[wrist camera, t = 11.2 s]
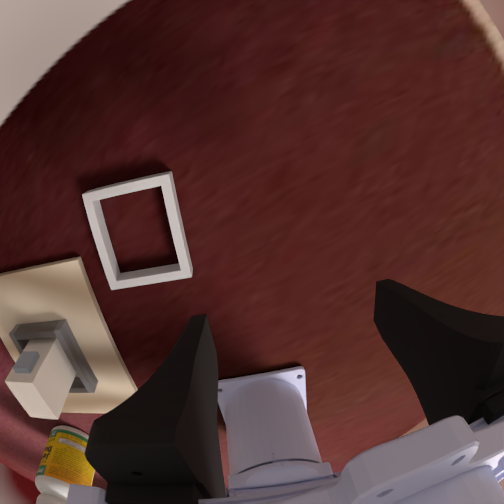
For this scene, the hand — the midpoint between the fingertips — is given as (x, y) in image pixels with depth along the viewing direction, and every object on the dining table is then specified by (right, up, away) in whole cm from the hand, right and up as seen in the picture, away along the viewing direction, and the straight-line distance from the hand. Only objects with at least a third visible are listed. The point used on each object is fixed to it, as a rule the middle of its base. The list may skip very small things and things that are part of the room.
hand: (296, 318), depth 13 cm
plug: (-19, -6, +10) cm, 22 cm away
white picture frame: (-9, +4, +7) cm, 13 cm away
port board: (-19, -6, +11) cm, 22 cm away
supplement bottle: (-23, -19, +16) cm, 34 cm away
